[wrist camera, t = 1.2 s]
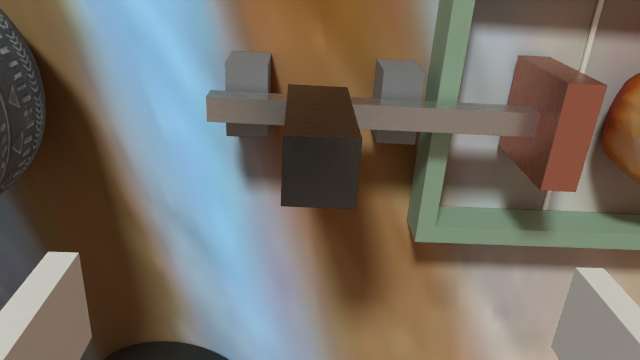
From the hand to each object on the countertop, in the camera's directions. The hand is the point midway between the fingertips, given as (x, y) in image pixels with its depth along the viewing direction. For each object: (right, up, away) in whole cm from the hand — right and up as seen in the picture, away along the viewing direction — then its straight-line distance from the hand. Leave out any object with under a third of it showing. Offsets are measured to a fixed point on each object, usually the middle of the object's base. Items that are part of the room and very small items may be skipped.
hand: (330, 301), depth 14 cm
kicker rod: (+4, +9, +19) cm, 21 cm away
